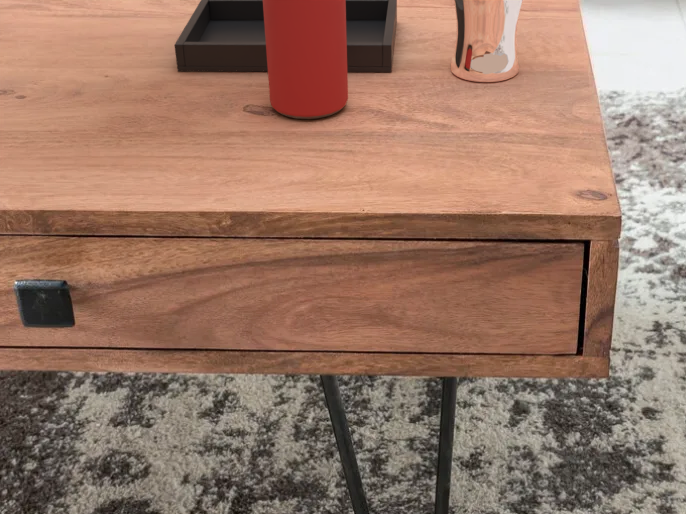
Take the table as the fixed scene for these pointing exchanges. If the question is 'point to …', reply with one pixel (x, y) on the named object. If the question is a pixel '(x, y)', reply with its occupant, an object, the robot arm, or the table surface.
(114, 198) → the table surface
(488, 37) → the beer glass
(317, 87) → the beer can
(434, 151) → the table surface
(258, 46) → the tray
